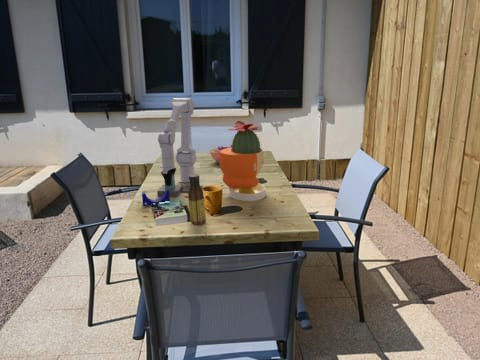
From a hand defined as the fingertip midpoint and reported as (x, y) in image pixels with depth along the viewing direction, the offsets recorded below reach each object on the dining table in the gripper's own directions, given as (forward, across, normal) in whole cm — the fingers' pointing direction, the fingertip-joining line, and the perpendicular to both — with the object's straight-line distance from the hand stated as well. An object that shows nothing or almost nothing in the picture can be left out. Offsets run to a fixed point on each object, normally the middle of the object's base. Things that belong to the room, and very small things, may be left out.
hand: (169, 184), depth 202 cm
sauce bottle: (+5, +38, +21) cm, 44 cm away
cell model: (+5, -61, +20) cm, 64 cm away
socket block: (+4, 0, 0) cm, 4 cm away
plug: (+3, 0, 0) cm, 3 cm away
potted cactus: (+5, +2, +36) cm, 36 cm away
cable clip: (+5, +16, -3) cm, 16 cm away
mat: (+4, -5, +10) cm, 12 cm away
